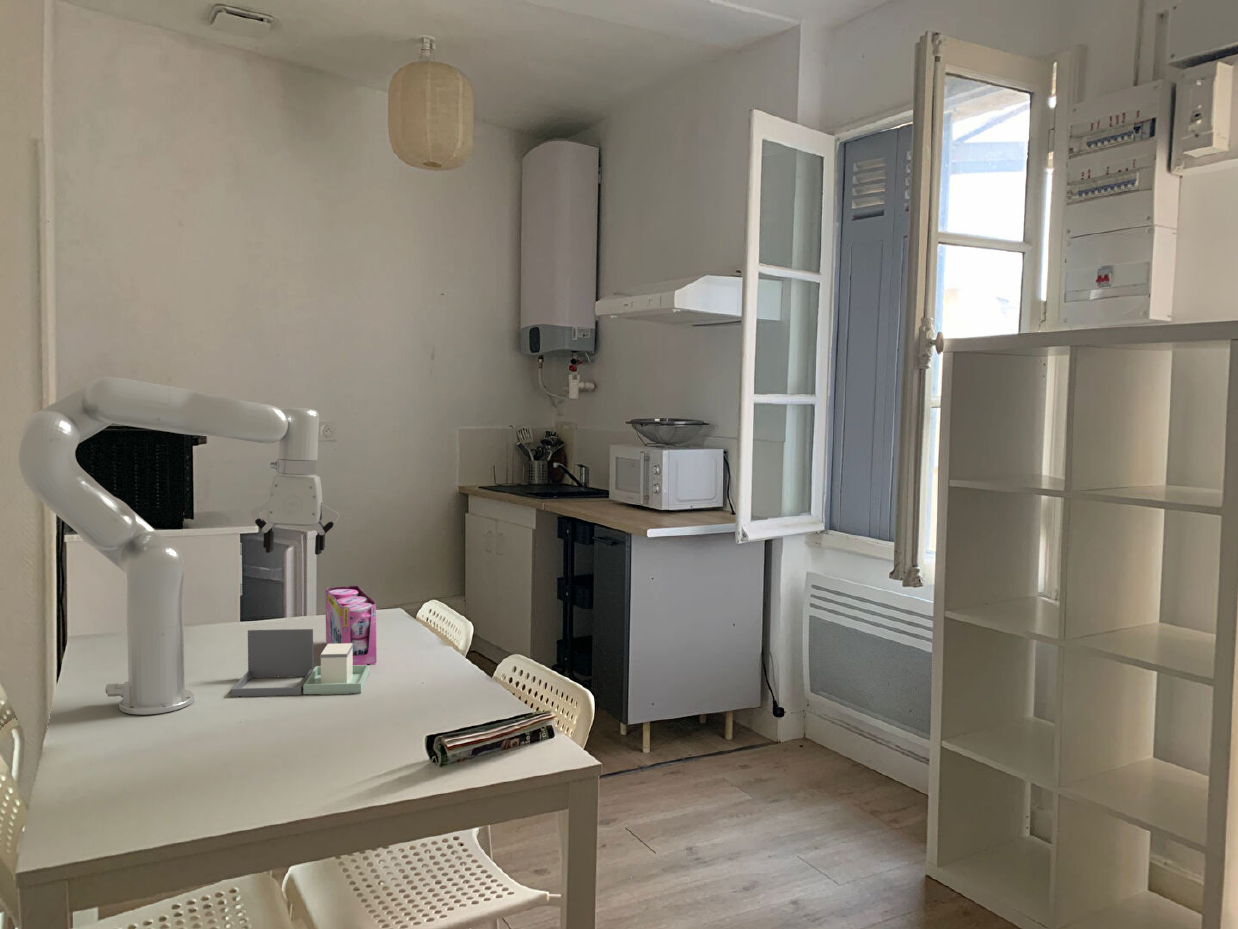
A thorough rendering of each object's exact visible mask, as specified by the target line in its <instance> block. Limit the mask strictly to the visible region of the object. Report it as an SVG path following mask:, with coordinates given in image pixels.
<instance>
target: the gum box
mask: <svg viewBox="0 0 1238 929" xmlns="http://www.w3.org/2000/svg"><path fill="white" fill-rule="evenodd" d="M324 594H325V596H324V597H325V598H324V599H325V600H324V601H325V644H326V645H327V644H343V643H353V665H367V664H371V665H376V664H375V663H377V651H378V650H377V649H378V648H377V604H376V603H377V602H376V601H375V600H374V599H372V598H371V597H370V596H369V595H367V593H366V592H364V590H363V589H362V588H361V587H360V586H359V585H348V586H334V587H332V586H331V587H326V588H325V593H324Z"/></svg>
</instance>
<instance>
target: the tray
mask: <svg viewBox="0 0 1238 929" xmlns="http://www.w3.org/2000/svg"><path fill="white" fill-rule="evenodd" d="M369 676H370V665H353V677H352V679H351V681H350V683H333V684H321V665H316V666H315V667H313V671H312V673H311V674H310V676H309V677H308V679H307V680H306V682H305V683H304V685H303V692H302V695H303V694H321V695H346V694H347V695H351V694H352V693H354V694H355V693H358V694H362V692H363V690H364V688H363V687H365V685H366V683H367V681H368V679H367V678H369ZM365 682H366V683H365ZM350 693H351V694H350ZM352 695H353V694H352Z"/></svg>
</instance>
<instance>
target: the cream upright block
mask: <svg viewBox="0 0 1238 929" xmlns="http://www.w3.org/2000/svg"><path fill="white" fill-rule="evenodd" d="M319 656H320V657H319V658H320V666H321V684H333V683H350V681H351V679H352V677H353V643H343V644H326V646H324V648H323V650H322V651H321V653H320V655H319Z"/></svg>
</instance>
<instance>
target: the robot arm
mask: <svg viewBox="0 0 1238 929" xmlns="http://www.w3.org/2000/svg"><path fill="white" fill-rule="evenodd" d="M24 422H25V423H23V426H22V428H21V429H22V430H21V440H20V444H19V449H18V465H19V466H18V467H19V471H20V474H21V477H22V479H23V481H24V483H25V485H26V486H27V488H28V489H29V490H30V491H31V493H32V494H33V495H34V496H35V497H36V498H37V499H38V500H39V501H41V503H43V505H45V506H46V507H47V508H48V509H49V510H51V512H52V513H54V514H55V515H56V516H57V517H58V518H60V520H62V521H63V522H64V523H66V524H67V525H68V526H69V527H70V528H71V529H73V531H75V532H76V533H77V535H78V536H79V537H80V538H81V539H82V540H83V542H84V543H86V544H87V545H89V546H91V547H93V548H94V549H95V550H96V551H97V552H99V553H100V554H101V555H103V556H104V557H105V558H106V559H107V560H109V561H110V562H111V563H112V564H113V565H114V566H116V567H117V568H118V569H120V570H121V571H122V572H123V573H125V574H126V578H127V580H126V581H127V582H126V583H127V584H126V585H127V586H126V587H127V589H126V591H127V592H126V627H127V671H128V672H127V673H128V674H127V675H128V676H127V677H128V678H127V679H128V680H127V681H125V682H123V683H114V682H113V683H107V684H106V685H105V694H106V695H107V697H108V698H109V697H120V698H122V699H121V700H120V701H119V704H118V707H119V708H118V709H119V711H121V712H122V713H125V714H130V715H138V716H142V715H146V716H147V715H157V714H159V715H160V714H165V713H169V712H175V711H177V710H181V709H183V708H185V707H187V706H189V705H191V704H192V703H193V702H194V698H195V697H194V696H195V695H194V692H193V691H191V690H189V689H186V688H185V686H186V685H185V682H186V680H185V639H184V638H185V629H184V628H185V626H184V623H185V622H184V595H185V594H184V593H185V592H184V590H185V580H186V565H185V564H186V563H185V558H184V557H183V554H182V552H181V550H180V549H179V548H178V546H176V544H174V543H173V542H171V541H170V540H169V539H167V538H166V537H165V536H163V535H162V534H161V533H159V532H158V531H157V530H156V529H155V528H153V526H152V525H150V524H149V523H148V522H147V521H146V520H144V519H143V518H142V517H141V516H140V515H139V514H137V513H136V512H135V511H134V510H133V509H132V508H131V507H130V506H129V505H128V504H127V503H126V502H125V501H122V500H121V499H120V498H118V497H116V496H114V495H113V494H112V493H111V492H109V491H108V490H106V489H105V488H104V487H103V486H102V485H100V483H99V482H98V481H96V480H95V479H94V478H93V477H92V476H91V475H90V474H89V473H87V471H85V470H84V469H83V468H82V467H81V466H80V464H79V463H78V461H77V458H76V451H77V448H78V445H79V444H80V443H82V442H84V441H86V440H87V439H89V438H91V437H94V435H96V434H98V433H99V432H101V431H102V430H104V429H106V428H107V427H109V426H110V425H112V424H113V425H122V426H128V427H134V428H140V429H141V428H142V429H149V430H154V431H161V432H169V433H175V434H182V435H188V436H190V435H191V436H209V437H216V438H217V437H218V438H223V439H224V438H225V439H226V438H227V439H233V440H240V441H245V442H251V443H257V444H258V443H259V444H265V445H268V444H269V445H270V444H274V443H277V442H278V450H277V451H278V452H277V455H278V456H277V457H278V459H277V460H276V461H271V462H270V465H269V467H270V469H273V470H276V473H277V474H273V475H272V478H271V481H270V485H269V486H270V488H269V493H268V501H267V503H264V504H262V505H260V506H257V507H255V508H253V509H251V510H250V515H251V516H252V519H253V521H254V522H255V525H257V527H258V528H259V529H261V532H262V533H263V549H265V553H267V554H268V553H271V552H272V551H274V546H275V544H274V542H275V541H274V540H275V538H274V537H275V532H274V531H273V529H274V528H275V526H277V525H280V526H301V527H303V526H304V527H306V526H307V527H311V526H312V527H313V528H314V530H315V531H316V532H317V534H316V535H315V539H314V540H315V541H314V542H315V545H314V554H315V555H316V556H317V555H318V556H319V555H321V554H322V551H325V546H326V534H327V533H328V532H329V531H330V530H331V529H333V527H335V525H336V523H337V522H338V520H339V518H340V516H341V513H339V512H338V511H336V510H334V509H332V508H330V507H329V506H327V505H326V504H324V503H323V490H322V482H321V481H322V480H321V477H320V475H317V474H318V456H319V455H318V454H319V452H318V451H319V430H320V428H319V427H320V414H319V412H318V411H317V409H313V408H306V407H284V408H282V407H280V408H279V407H277V406H275V405H272V404H267V403H260V402H254V401H249V400H248V401H247V400H244V399H236V398H229V397H225V396H220V395H215V394H210V393H207V392H203V391H198V390H193V389H189V388H183V387H177V386H170V385H165V384H159V383H153V382H147V381H142V380H138V379H137V380H136V379H132V378H124V377H118V376H102V377H98V378H96V379H93V380H91V381H90V382H88V383H86V384H85V385H84V386H83V385H82V387H80V388H79V389H76V390H75V391H74V392H72V393H70V394H68V395H66V396H64V397H62V398H60V399H58V400H57V401H55V402H53V403H51V404H50V405H48V406H46V407H44V408H42V409H41V410H38V411H36V412H35V413H33V414H31V416H29V417H28V418H27V419H26V420H25V421H24ZM266 511H267V513H266V519H267V522H266V521H265V519H264V518H262V515H261V514H262V513H263V512H266ZM323 514H325V515H327V516H329V518H330V519H329V521H328V522H327V523H326V524H324V523H322V520H323Z"/></svg>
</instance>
